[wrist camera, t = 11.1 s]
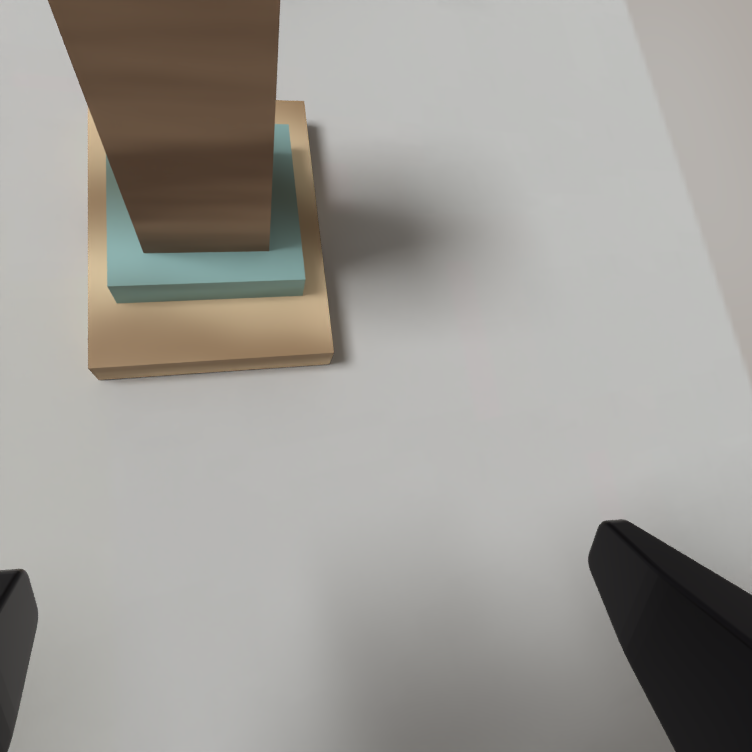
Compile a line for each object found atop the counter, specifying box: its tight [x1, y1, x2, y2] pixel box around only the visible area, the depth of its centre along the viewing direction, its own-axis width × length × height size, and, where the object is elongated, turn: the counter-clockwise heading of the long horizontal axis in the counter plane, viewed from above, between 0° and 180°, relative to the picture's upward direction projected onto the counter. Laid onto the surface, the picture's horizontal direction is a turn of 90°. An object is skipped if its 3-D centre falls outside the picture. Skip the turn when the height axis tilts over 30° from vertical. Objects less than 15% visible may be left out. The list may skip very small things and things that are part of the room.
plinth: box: [88, 100, 334, 380], centre depth 23 cm, size 12×9×3 cm
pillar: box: [48, 0, 280, 253], centre depth 16 cm, size 4×4×12 cm
